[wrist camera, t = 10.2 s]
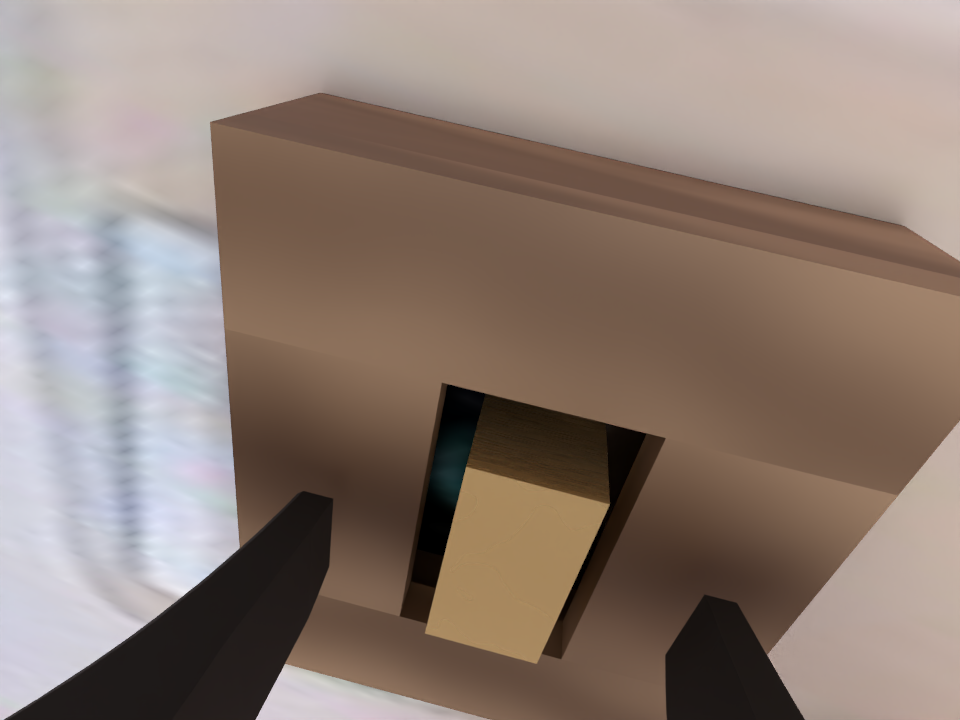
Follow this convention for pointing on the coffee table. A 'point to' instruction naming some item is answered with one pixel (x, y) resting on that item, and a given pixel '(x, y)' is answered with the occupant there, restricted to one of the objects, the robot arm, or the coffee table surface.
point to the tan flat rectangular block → (520, 527)
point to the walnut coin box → (563, 382)
